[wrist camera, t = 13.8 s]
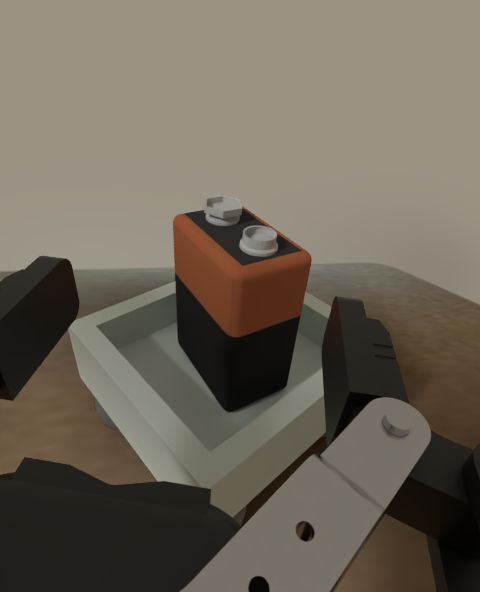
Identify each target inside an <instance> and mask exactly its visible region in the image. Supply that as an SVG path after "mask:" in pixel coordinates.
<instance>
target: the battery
mask: <svg viewBox="0 0 480 592" xmlns="http://www.w3.org/2000/svg"><path fill="white" fill-rule="evenodd" d="M173 230H174V257H175V284H176V310H177V335H178V343H179V345H180V346H181V348H182V349H183V351H184V352H185V354H186V355H187V357H188V358H189V360H190V361H191V363H192V364H193V366H194V367H195V369H196V370H197V372H198V373H199V375H200V376H201V377H202V379H203V380H204V382H205V383H206V385H207V386H208V388H209V389H210V391H211V392H212V394H213V395H214V397H215V398H216V400H217V401H218V403H219V404H220V405H221V407H222V408H223V409H224V410H225V411H227V412H233V411H235V410H237V409H239V408H242V407H244V406H246V405H248V404H251V403H253V402H255V401H257V400H259V399H262V398H264V397H266V396H268V395H270V394H273V393H275V392H277V391H279V390H281V389H283V388H285V387H286V386H287V382H288V377H289V372H290V367H291V362H292V357H293V352H294V347H295V342H296V337H297V332H298V327H299V322H300V317H301V312H302V307H303V302H304V296H305V291H306V286H307V281H308V276H309V271H310V266H311V256H310V254H309V253H308V252H307V251H305V250H304V249H303V248H301V247H300V246H298V245H297V244H296V243H294V242H293V241H291V240H290V239H288V238H287V237H285V236H284V235H283V234H281V233H280V232H278V231H277V230H276V229H274V228H273V227H271V226H270V225H268V224H267V223H265V222H264V221H263V220H261V219H260V218H258V217H257V216H255V215H254V214H253V213H251V212H250V211H248V210H247V209H245V208H244V207H242V204H241V200H239V199H236V198H232V197H228V196H225V195H220V196H213V197H207V198H205V204H204V210H202V211H197V212H190V213H185V214H180V215H177V216H176V217H175V218H174V221H173Z"/></svg>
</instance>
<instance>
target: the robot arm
mask: <svg viewBox="0 0 480 592" xmlns="http://www.w3.org/2000/svg"><path fill="white" fill-rule="evenodd" d="M78 310H79V298H78V293H77V288H76V283H75V279H74V274H73V269H72V265H71V263H70V261H69V260H67V259H63V258H55V257H48V256H40V257H39V258H37V259H36V260H35V261H34V262H32V263H31V264H30V265H29V266H28V267H27V268H26V269H25V270H23V269H22V270H20V271H18V272H16V273H14V274H12V275H10V276H8V277H5V278H4V279H3V280H2V281H1V282H0V399H5V400H12V401H13V400H14V399H15V397H16V396H17V395H18V393H19V392H20V391H21V389H22V388H23V387H24V385H25V384H26V383H27V382H28V380H29V379H30V378H31V376H32V375H33V374H34V372H35V371H36V370H37V369H38V367H39V366H40V365H41V363H42V362H43V361H44V359H45V358H46V357H47V355H48V354H49V353H50V352H51V350H52V349H53V348H54V346H55V345H56V344H57V342H58V341H59V340H60V339H61V337H62V336H63V335H64V333H65V332H66V331H67V329H68V328H69V327H70V325H71V324H72V323H73V322H74V320H75V319H76V317H77V314H78ZM322 372H323V389H324V406H325V423H326V440H327V449H326V450H325V451H324V452H323V453H322V454H321V455H318V454H316V453H315V454H313V455H311V456H310V457H309V458H308V459H307V460H306V461H305V462H304V463H303V464H302V465H301V466H300V467H299V468H298V469H297V470H296V471H295V472H294V473H293V474H292V475H291V476H290V477H289V479H288V480H287V481H286V482H285V483H284V484H283V485H282V486H281V487H280V488H279V489H278V490H277V491H276V492H275V493H274V494H273V495H272V496H271V498H270V499H269V500H268V501H267V502H266V503H265V504H264V505H263V506H262V507H261V508H260V509H259V510H258V511H257V512H256V513H255V514H254V516H253V517H252V518H251V519H250V520H249V521H248V522H247V523H246V524H245V525H244V526H243V527H242V526H241V525H240V524H239V523H238V522H237V521H236V520H234V519H233V518H232V517H231V516H230V515H229V514H227V513H226V512H224V511H223V510H221V509H220V508H218V507H216V506H214V505H212V504H210V501H211V489H208V488H202V487H196V486H190V485H184V484H179V483H173V482H167V481H159V482H148V483H136V484H125V485H110V484H107V483H105V482H103V481H101V480H99V479H97V478H95V477H93V476H91V475H89V474H87V473H85V472H83V471H81V470H79V469H77V468H75V467H73V466H71V465H67V464H61V463H56V462H50V461H44V460H38V459H32V458H26V457H25V458H24V459H23V461H22V462H21V464H20V465H19V467H18V469H17V470H16V472H13V473H7V474H2V475H0V592H334V591H335V590H336V588H337V587H338V585H339V584H340V582H341V580H342V579H343V577H344V576H345V574H346V573H347V571H348V570H349V568H350V567H351V565H352V564H353V562H354V561H355V559H356V557H357V556H358V554H359V553H360V551H361V550H362V548H363V547H364V545H365V544H366V542H367V541H368V539H369V538H370V536H371V535H372V533H373V532H374V530H375V529H376V527H377V526H378V524H379V523H380V521H381V520H382V518H383V517H384V515H385V514H387V515H389V516H391V517H393V518H395V519H397V520H399V521H401V522H403V523H405V524H407V525H409V526H411V527H413V528H414V529H416V530H418V531H420V532H422V533H424V534H426V537H427V542H428V548H429V553H430V558H431V564H432V569H433V574H434V580H435V585H436V590H437V592H480V444H479V445H477V446H476V448H475V449H474V450H472V449H470V448H467V447H465V446H462V445H460V444H458V443H455V442H453V441H451V440H448V439H446V438H444V437H442V436H439V435H438V434H436V433H434V432H433V431H431V430H430V427H429V425H428V423H427V421H426V420H425V418H424V417H423V416H422V414H421V413H420V412H419V411H417V410H416V409H415V408H414V407H412V406H411V405H409V402H408V398H407V395H406V391H405V387H404V384H403V380H402V377H401V373H400V370H399V366H398V363H397V361H396V356H395V352H394V349H393V345H392V341H391V338H390V334H389V332H388V331H387V330H386V328H385V327H384V326H383V325H382V324H381V322H380V321H379V320H377V319H370V318H366V314H365V310H364V305H363V301H362V300H358V299H351V298H343V297H335V298H334V301H333V304H332V308H331V312H330V315H329V319H328V323H327V326H326V330H325V334H324V338H323V343H322Z"/></svg>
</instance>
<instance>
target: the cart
mask: <svg viewBox="0 0 480 592" xmlns="http://www.w3.org/2000/svg"><path fill="white" fill-rule="evenodd" d="M331 308H332V307H331V306H329V305H328V304H326V303H324V302H323V301H321V300H319V299H317V298H316V297H314V296H312V295H311V294H309V293H307V292H305V296H304V302H303V307H302V312H301V317H300V322H299V327H298V332H297V337H296V342H295V347H294V352H293V357H292V362H291V367H290V372H289V377H288V382H287V386H286V387H285V388H283V389H281V390H279V391H277V392H275V393H273V394H270V395H268V396H266V397H264V398H262V399H259V400H257V401H255V402H253V403H251V404H248V405H246V406H244V407H242V408H239V409H237V410H235V411H233V412H227V411H225V410H224V409H223V408H222V407H221V405H220V404H219V403H218V401H217V400H216V398H215V397H214V395H213V394H212V392H211V391H210V389H209V388H208V386H207V385H206V383H205V382H204V380H203V379H202V377H201V376H200V375H199V373H198V372H197V370H196V369H195V367H194V366H193V364H192V363H191V361H190V360H189V358H188V357H187V355H186V354H185V352H184V351H183V349H182V348H181V346H180V345H179V343H178V335H177V310H176V284H175V281H174V282H171V283H169V284H166V285H164V286H161V287H159V288H156V289H153V290H151V291H148V292H146V293H143V294H141V295H138V296H136V297H133V298H131V299H128V300H125V301H123V302H120V303H118V304H115V305H113V306H110V307H108V308H105V309H103V310H100V311H98V312H95V313H92V314H90V315H87V316H85V317H82V318H80V319H77V320H75V321H74V322H73V323H72V324H71V325H70V327H69V328H68V331H69V335H70V339H71V343H72V347H73V351H74V355H75V359H76V362H77V366H78V370H79V374H80V378H81V379H82V380H83V382H84V383H85V384H86V386H87V387H88V388H89V390H90V391H91V392H92V394H93V395H94V396H95V407H96V411H97V414H98V416H99V418H100V419H101V421H102V422H103V423H104V424H105V425H107V426H108V427H110V428H112V429H114V430H119V431H121V433H122V434H123V435H124V437H125V438H126V439H127V441H128V442H129V443H130V445H131V446H132V447H133V449H134V450H135V451H136V453H137V454H138V455H139V457H140V458H141V459H142V461H143V462H144V463H145V465H146V466H147V468H148V469H149V470H150V472H151V473H152V474H153V476H154V477H155V478H156V480H157V481H158V482H159V481H167V482H173V483H179V484H184V485H190V486H196V487H202V488H208V489H211V501H210V504H212V505H214V506H216V507H218V508H220V509H221V510H223V511H224V512H226V513H227V514H229V515H230V516H231V517H232V518H233V519H234V520H236V521H237V522H238V523H239V524H240V525H241V524H242V522H243V519H244V517H245V513H246V507H247V504H248V503H249V502H250V501H251V500H252V499H253V498H254V497H256V496H257V495H258V494H259V493H260V492H261V491H262V490H263V489H264V488H265V487H266V486H268V485H269V484H270V483H271V482H272V481H273V480H274V479H275V478H276V477H277V476H278V475H280V474H281V473H282V472H283V471H284V470H285V469H286V468H287V467H288V466H289V465H290V464H292V463H293V462H294V461H295V460H296V459H297V458H298V457H299V456H300V455H301V454H302V453H304V452H305V451H306V450H307V449H308V448H309V447H310V446H311V445H312V444H313V443H314V442H316V441H317V440H318V439H319V438H320V437H326V423H325V406H324V389H323V372H322V343H323V338H324V334H325V330H326V326H327V323H328V319H329V315H330V312H331Z"/></svg>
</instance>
